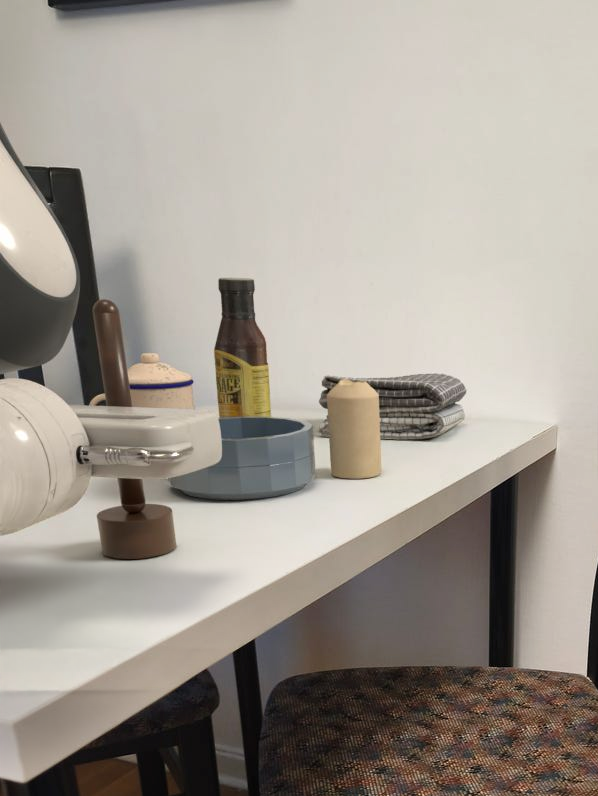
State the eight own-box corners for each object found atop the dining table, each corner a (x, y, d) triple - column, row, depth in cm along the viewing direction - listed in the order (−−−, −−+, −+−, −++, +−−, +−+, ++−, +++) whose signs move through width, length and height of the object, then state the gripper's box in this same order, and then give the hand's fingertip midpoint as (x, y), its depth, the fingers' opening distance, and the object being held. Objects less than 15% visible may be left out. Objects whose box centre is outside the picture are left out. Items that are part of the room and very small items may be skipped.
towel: (446, 442, 117) (445, 380, 114) (312, 437, 120) (308, 376, 117) (467, 424, 131) (467, 368, 127) (347, 419, 133) (344, 365, 130)
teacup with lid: (200, 446, 113) (189, 349, 108) (202, 459, 105) (191, 356, 100) (98, 450, 109) (83, 351, 105) (93, 465, 101) (76, 358, 97)
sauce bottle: (213, 448, 111) (195, 277, 104) (258, 443, 115) (244, 277, 107) (238, 456, 107) (221, 278, 99) (284, 450, 111) (271, 278, 103)
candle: (321, 473, 98) (315, 380, 94) (361, 466, 102) (357, 376, 98) (351, 481, 95) (346, 384, 91) (391, 474, 98) (388, 380, 94)
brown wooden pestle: (91, 559, 69) (48, 300, 61) (117, 538, 74) (80, 297, 67) (164, 559, 69) (129, 300, 62) (185, 539, 74) (155, 298, 67)
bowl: (150, 502, 86) (142, 439, 83) (193, 470, 99) (187, 415, 97) (302, 502, 86) (298, 440, 84) (324, 471, 99) (321, 416, 97)
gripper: (161, 407, 53) (252, 381, 66) (-143, 396, 56) (0, 373, 68) (174, 511, 55) (259, 466, 68) (-118, 495, 58) (15, 455, 71)
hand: (127, 419), depth 68 cm, fingers closed on brown wooden pestle
